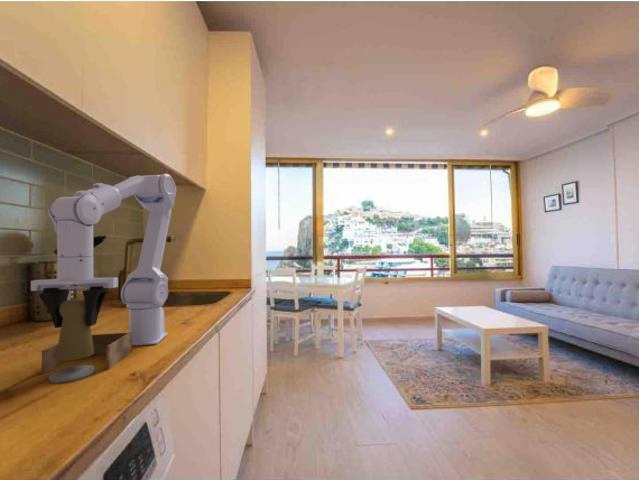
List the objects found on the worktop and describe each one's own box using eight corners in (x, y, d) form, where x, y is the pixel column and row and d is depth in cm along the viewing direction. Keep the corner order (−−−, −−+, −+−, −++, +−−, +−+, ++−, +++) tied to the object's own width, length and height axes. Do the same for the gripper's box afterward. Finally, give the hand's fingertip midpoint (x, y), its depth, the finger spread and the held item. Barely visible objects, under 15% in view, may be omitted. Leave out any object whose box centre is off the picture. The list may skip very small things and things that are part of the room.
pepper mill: (87, 348, 67) (88, 295, 67) (99, 354, 63) (99, 298, 64) (51, 356, 62) (52, 299, 62) (61, 363, 59) (62, 303, 59)
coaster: (63, 369, 64) (63, 366, 64) (102, 367, 65) (102, 364, 65) (39, 384, 57) (39, 381, 57) (82, 381, 58) (82, 378, 58)
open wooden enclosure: (74, 355, 72) (74, 335, 72) (131, 351, 74) (131, 332, 74) (41, 374, 62) (41, 350, 62) (109, 369, 64) (109, 346, 64)
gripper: (18, 258, 58) (18, 333, 58) (105, 256, 60) (105, 328, 60) (45, 257, 65) (45, 324, 65) (122, 255, 67) (122, 320, 67)
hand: (75, 325), depth 63 cm, fingers closed on pepper mill, 5 cm apart
